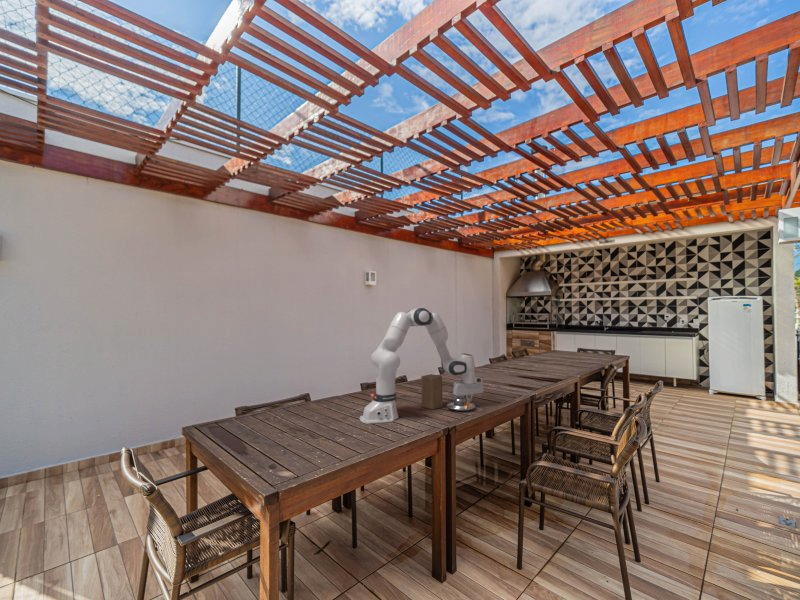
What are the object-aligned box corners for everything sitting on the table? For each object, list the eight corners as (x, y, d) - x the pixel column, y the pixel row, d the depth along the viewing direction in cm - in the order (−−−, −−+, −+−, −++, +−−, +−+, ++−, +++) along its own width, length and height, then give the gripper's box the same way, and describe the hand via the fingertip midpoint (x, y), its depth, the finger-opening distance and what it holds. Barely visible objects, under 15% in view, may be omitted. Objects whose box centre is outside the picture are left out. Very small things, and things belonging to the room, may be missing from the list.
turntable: (455, 413, 212) (455, 403, 213) (442, 407, 228) (442, 397, 229) (480, 410, 219) (480, 400, 219) (465, 403, 234) (465, 394, 235)
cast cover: (457, 406, 218) (457, 398, 218) (451, 403, 226) (451, 395, 226) (469, 405, 221) (468, 397, 221) (462, 402, 229) (462, 394, 229)
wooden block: (432, 410, 223) (431, 377, 223) (421, 407, 230) (420, 375, 231) (443, 407, 229) (442, 375, 230) (431, 404, 237) (431, 373, 237)
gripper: (455, 381, 219) (456, 404, 219) (484, 378, 227) (485, 400, 226) (450, 380, 225) (451, 402, 225) (478, 377, 233) (479, 398, 232)
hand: (468, 401), depth 226 cm, fingers closed
